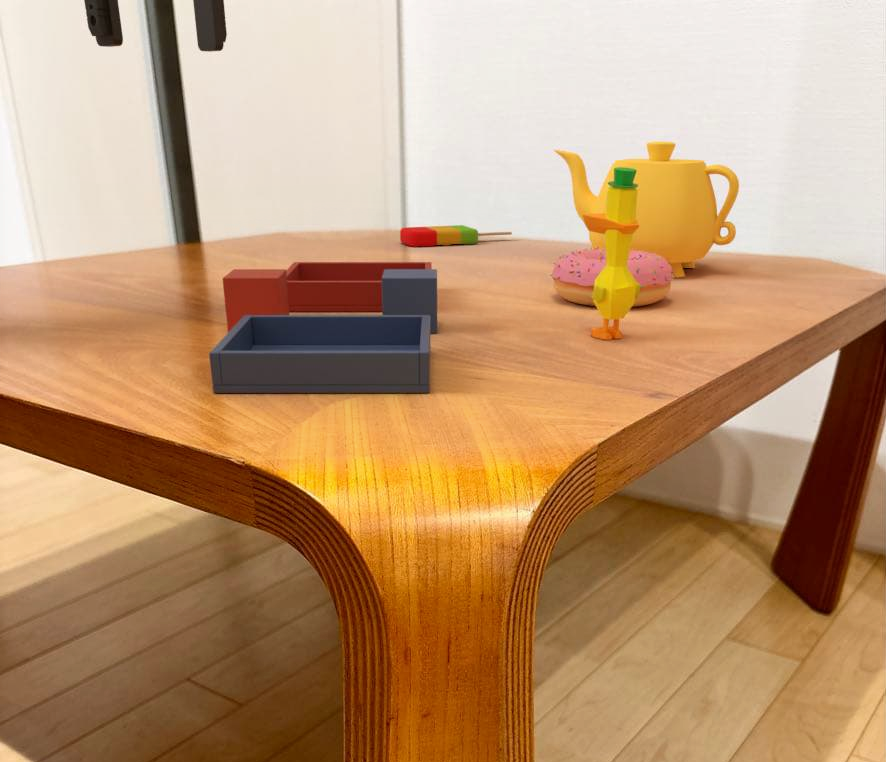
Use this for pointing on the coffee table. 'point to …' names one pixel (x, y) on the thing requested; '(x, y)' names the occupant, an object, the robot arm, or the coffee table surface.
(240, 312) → the red block
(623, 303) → the toy figure
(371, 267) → the red tray
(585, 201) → the teapot
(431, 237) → the popsicle
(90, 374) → the coffee table surface
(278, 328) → the blue tray
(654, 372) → the coffee table surface
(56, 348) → the coffee table surface
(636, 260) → the doughnut
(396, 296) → the blue block
